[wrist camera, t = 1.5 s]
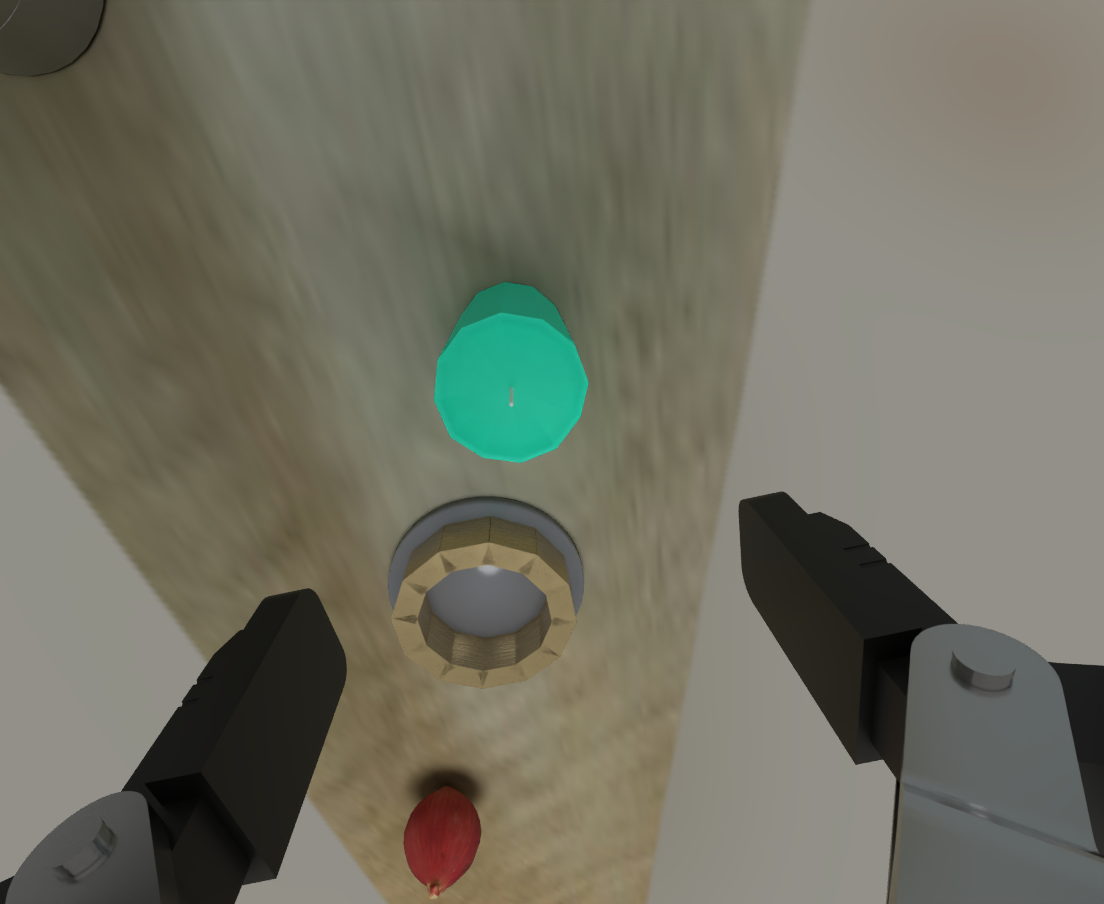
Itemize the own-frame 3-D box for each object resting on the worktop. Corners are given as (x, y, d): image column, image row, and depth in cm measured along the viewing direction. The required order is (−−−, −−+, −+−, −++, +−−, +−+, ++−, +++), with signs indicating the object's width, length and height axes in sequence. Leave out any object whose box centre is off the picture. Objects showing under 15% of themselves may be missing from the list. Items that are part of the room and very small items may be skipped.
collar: (429, 665, 38) (422, 700, 35) (381, 536, 33) (370, 565, 31) (580, 636, 38) (586, 669, 35) (553, 503, 33) (557, 529, 31)
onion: (496, 782, 45) (494, 892, 38) (454, 818, 46) (444, 931, 39) (440, 754, 43) (426, 864, 36) (398, 793, 45) (376, 906, 37)
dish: (421, 667, 39) (419, 677, 38) (365, 517, 34) (361, 526, 33) (594, 634, 39) (596, 644, 38) (565, 479, 34) (566, 486, 33)
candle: (502, 407, 32) (497, 507, 21) (435, 325, 29) (390, 388, 18) (584, 347, 31) (626, 419, 20) (521, 258, 28) (528, 282, 17)
